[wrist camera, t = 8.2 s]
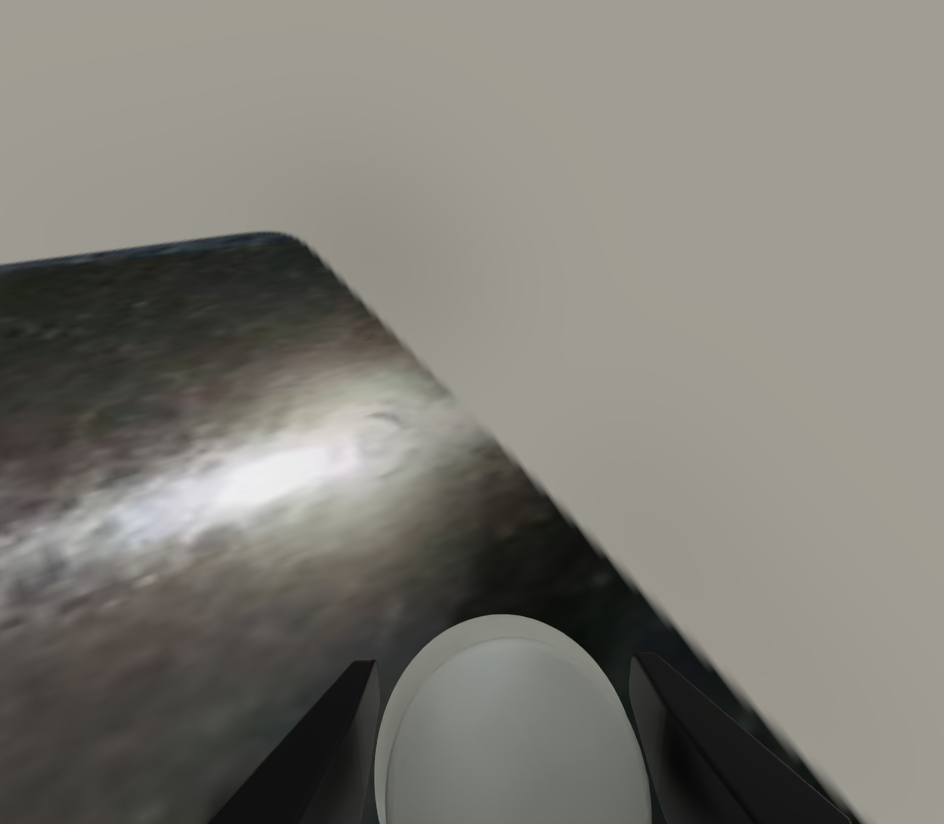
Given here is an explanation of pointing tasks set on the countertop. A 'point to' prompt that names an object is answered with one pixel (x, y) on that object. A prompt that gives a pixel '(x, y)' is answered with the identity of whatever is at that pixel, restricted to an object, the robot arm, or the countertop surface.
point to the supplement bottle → (507, 733)
